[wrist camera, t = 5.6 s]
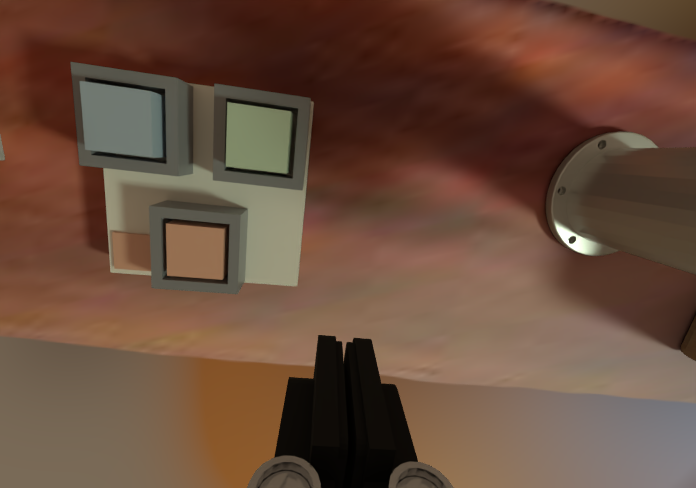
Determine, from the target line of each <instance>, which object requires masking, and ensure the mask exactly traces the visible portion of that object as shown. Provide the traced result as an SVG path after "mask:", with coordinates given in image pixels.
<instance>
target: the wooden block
mask: <svg viewBox="0 0 696 488" xmlns="http://www.w3.org/2000/svg"><path fill="white" fill-rule="evenodd" d="M681 352H683V353H684V354H685V355H686V356H688V357H689V358H691V359H693V360H695V361H696V316H695V318H694V320H693V322H692V324H691V326H690V328H689V331H688V333H687V335H686V337H685V339H684V341H683V343H682V345H681Z"/></svg>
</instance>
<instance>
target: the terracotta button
mask: <svg viewBox="0 0 696 488" xmlns="http://www.w3.org/2000/svg"><path fill="white" fill-rule="evenodd" d="M229 228H230V224H222V223H211V222H201V221H191V220H181V219H174V220H172V221H170V222H168V223H166V251H167V276H179V277H192V278H205V279H218V280H223V278H224V277H225V276H226V274H227V273H228V260H229Z"/></svg>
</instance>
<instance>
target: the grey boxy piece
mask: <svg viewBox="0 0 696 488" xmlns="http://www.w3.org/2000/svg"><path fill="white" fill-rule="evenodd" d="M0 160H5V156H4V151H3V146H2V141H1V136H0Z"/></svg>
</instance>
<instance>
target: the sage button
mask: <svg viewBox="0 0 696 488" xmlns="http://www.w3.org/2000/svg"><path fill="white" fill-rule="evenodd" d="M292 125H293V114H292V112H291V111H285V110H278V109H271V108H264V107H257V106H251V105H244V104H237V103H230V102H227V136H226V167H234V168H243V169H251V170H259V171H268V172H276V173H285V174H287V173H288V172H289V165H290V151H291V138H292Z"/></svg>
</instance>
